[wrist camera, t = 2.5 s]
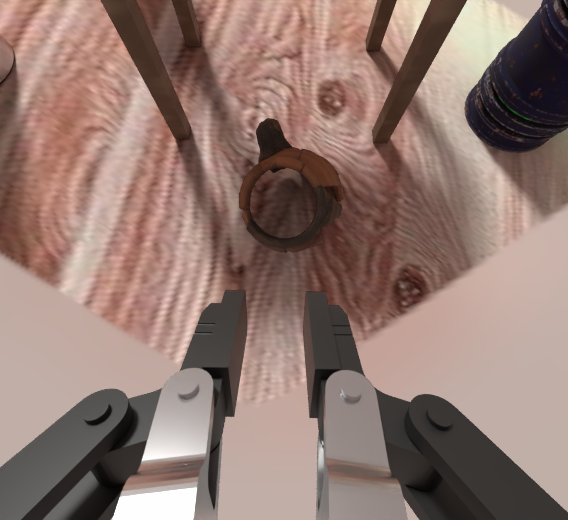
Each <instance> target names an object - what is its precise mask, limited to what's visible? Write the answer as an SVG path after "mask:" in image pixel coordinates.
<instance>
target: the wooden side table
mask: <svg viewBox="0 0 568 520" xmlns="http://www.w3.org/2000/svg"><path fill="white" fill-rule="evenodd" d="M396 1H397V0H377V3H376V7H375V10H374V14H373V17H372V20H371V24H370V27H369V31H368V34H367V38H366V51H379V50H380V47H381V44H382V41H383V38H384V35H385V32H386V30H387V27H388V24H389V21H390V18H391V15H392V12H393V10H394V7H395V4H396ZM466 1H467V0H431V2H430V4H429V6H428V8H427V11H426V13H425V15H424V17H423V19H422V22H421V24H420V26H419V28H418V30H417V33H416V35H415V37H414V39H413V42H412V44H411V46H410V48H409V50H408V53H407V55H406V57H405V59H404V61H403V64H402V66H401V68H400V70H399V72H398V75H397V77H396V79H395V81H394V84H393V86H392V88H391V90H390V92H389V95H388V97H387V99H386V101H385V103H384V106H383V108H382V110H381V112H380V115H379V117H378V119H377V121H376V123H375V126H374V128H373V130H372V135H373V143H387V142H388V141H389V139H390V137H391V135H392V133H393V132H394V130H395V128H396V126H397V124H398V123H399V121H400V119H401V117H402V116H403V114H404V112H405V110H406V108H407V107H408V105H409V103H410V101H411V99H412V98H413V96H414V94H415V92H416V91H417V89H418V87H419V85H420V83H421V82H422V80H423V78H424V76H425V74H426V73H427V71H428V69H429V67H430V66H431V64H432V62H433V60H434V58H435V57H436V55H437V53H438V51H439V49H440V48H441V46H442V44H443V42H444V40H445V39H446V37H447V35H448V33H449V32H450V30H451V28H452V26H453V24H454V23H455V21H456V19H457V17H458V15H459V14H460V12H461V10H462V8H463V7H464V5H465V3H466ZM101 2H102V4H103V6H104V8H105V9H106V11H107V13H108V15H109V17H110V19H111V21H112V22H113V24H114V26H115V28H116V30H117V32H118V33H119V35H120V37H121V39H122V41H123V43H124V45H125V46H126V48H127V50H128V52H129V54H130V56H131V58H132V59H133V61H134V63H135V65H136V67H137V69H138V71H139V72H140V74H141V76H142V78H143V80H144V82H145V84H146V85H147V87H148V89H149V91H150V93H151V95H152V97H153V98H154V100H155V102H156V104H157V106H158V108H159V110H160V111H161V113H162V115H163V117H164V119H165V121H166V123H167V124H168V126H169V128H170V130H171V132H172V134H173V136H174V137H175V139H189V138H190V129H191V126H190V124H189V122H188V119H187V117H186V115H185V113H184V110H183V108H182V106H181V103H180V101H179V99H178V96H177V94H176V92H175V89H174V87H173V85H172V82H171V80H170V78H169V76H168V73H167V71H166V69H165V66H164V64H163V62H162V59H161V57H160V55H159V52H158V50H157V48H156V46H155V43H154V41H153V39H152V36H151V34H150V32H149V29H148V27H147V25H146V22H145V20H144V18H143V15H142V13H141V11H140V9H139V6H138V4H137V2H136V0H101ZM172 2H173V5H174V8H175V11H176V14H177V17H178V20H179V23H180V27H181V30H182V33H183V36H184V39H185V42H186V45H187V46H191V47H200V41H201V35H200V31H199V28H198V24H197V20H196V16H195V13H194V9H193V5H192V1H191V0H172Z"/></svg>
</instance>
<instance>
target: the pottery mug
mask: <svg viewBox="0 0 568 520" xmlns="http://www.w3.org/2000/svg"><path fill="white" fill-rule="evenodd" d="M256 135H257V141H258V144H259V147H260V157H259V161H258V162H259V163H258V164H257V165H256V166H255V167H254V168H253V169H252V170H251V171H250V172H249V173H248V175H247V176H246V178H245V179H244V181H243V183H242V186H241V189H240V193H239V208H240V209H243V218H244V221H245V224H246V226H247V230H248V231H249V233H251V235H252V236H253V237H254V238H255V239H256V240H258V241H259V242H260V243H262V244H263V245H265V246H267V247H268V248H271V249H273V250H276V251H280V252H287V251H290V252H297V251H301V250H304V249H306V248H310V247H313V246H317V245H320V244H323V243H324V240H323V236H322V233H321V228H322V227H326V226H329V225H331V224H332V223H333V222H334V220H335V219H337V218H339V217H340V215H341V210H342V205H341V204H339V203H337V202H336V200H335V199H334V198H333V197H332V196H331V195H330V194H329V193H328V192H327V191H326V189H325V188H326V187H331V186H333V188H334V191H335V193H336V197H337V200H338V201H341V200H342V199H343V189H342V187H341V183H340V179H339V176H338V173H337V171H336V170H335V168H334V167H333V166H332V165H331V164H330V163H329V162H328V161H327V160H326V159H325V158H323V157H321V156H319V155H317V154H316V153H314V152H312V151H309V150H306V149H301V150H300V149H298V148H294V147H292V146H291V145H290V144H289V143H288V142H287V140H286V139H285V137H284V135H283V132H282V129H281V127H280V124H279V122H278V121H277V120H275V119H270V118H267V119H266V120H265V121H263V122H261V123H260V124H259V126H258V128H257V130H256ZM285 168H290V169H293V170H296V171H298V172H299V173H301V174H302V175H303V176H304V177H305V178H306V179H307V180H308V181H309V182H310V184H311V186H312V188H313V189H314V191H315V195H316V202H317V206H316V212H315V216H314V219H313V221H312V223H311V224H310V226H309V227H308V228H307V229H306V230H305V231H304V232H303V233H301V234H300V235H298V236H295V237H292V238H277V237H274V236H271V235H269V234H267V233H266V232H264V231H263V230H262V229H261V228H260V227H259V226H258V225H257V224H256V222H255V221H254V220H253V218H252V215H251V212H250V197H251V192H252V189H253V187H254V185H255V183H256V181H257V180H258V179H259V177H260V176H262V175H263V174H264V173H266V172H267V171H268V170H271V172H273V173H275V172H277V171H279V170H282V169H285Z"/></svg>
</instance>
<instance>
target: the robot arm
mask: <svg viewBox="0 0 568 520" xmlns="http://www.w3.org/2000/svg"><path fill="white" fill-rule="evenodd" d="M13 60H14V55H13V50H12V48H11V46H10V44H9V43H8V42H7V41H6V40H5V39H4V38H3V36H2V35H1V34H0V82H1V81H2V80H3V79H4V78H5V77H6V76H7V74H8V73H9V72H10V69H11V67H12V65H13ZM352 335H353V334H352V331H351V328H350V323H349V320H348V316H347V314H346V313H345V312H344V311H343V309H342V308H341V307H340V306H339V305H328V303H327V298H326V293H325V292H309V291H306V294H305V306H304V320H303V338H304V351H305V364H306V377H307V390H308V402H309V416H310V418H318V428H319V435H318V446H317V447H318V449H317V502H316V520H408V518H407V513H406V508H405V503H404V499H405V500H406V501H407V503H408V504H409V506H410V507H411V508H412V510H413V511H414V513H415V514H416V515H417V517H418V518H419V520H568V512H567V511H566V510H564V509H563V508H562V507H561V506H560V505H559V504H558V503H557V502H556V501H555V500H554V499H553V498H552V497H551V496H550V495H549V494H547V493H546V492H545V491H544V490H543V489H542V488H541V487H540V486H539V485H538V484H537V483H536V482H535V481H534V480H533V479H531V478H530V477H529V476H528V475H527V474H526V473H525V472H524V471H523V470H522V469H521V468H520V467H519V466H518V465H517V464H515V463H514V462H513V461H512V460H511V459H510V458H509V457H508V456H507V455H506V454H505V453H504V452H503V451H502V450H500V449H499V448H498V447H497V446H496V445H495V444H494V443H493V442H492V441H491V440H490V439H489V438H488V437H487V436H486V435H484V434H483V433H482V432H481V431H480V430H479V429H478V428H477V427H476V426H475V425H474V424H473V423H472V422H471V421H469V419H467V418H466V417H465V416H464V415H463V414H462V413H461V412H460V411H459V410H458V409H457V408H455V407H454V406H453V405H452V404H451V403H449V402H448V401H446V400H445V399H443V398H440V397H438V396H435V395H429V394H422V395H418V396H416V397H415V398H413V400H412V401H411V402H408V401H405V400H402V399H398V398H395V397H392V396H389V395H386V394H384V393H382V392H380V391H379V390H377V389H376V388H375V387H374V386H373V385H372V383H371V382H370V381H369V380H368V379H367V378H366V377H365V375H364V373H363V370H362V367H361V363H360V359H359V356H358V352H357V348H356V345H355V341H354V338H353V336H352ZM246 337H247V308H246V293H245V290H225V292H224V296H223V299H222V302H221V303H211V304H210V305H209V306H208V307H207V308H206V309H205V310H204V311H203V312H202V313H201V316H200V319H199V321H198V325H197V327H196V329H195V334H194V335H193V337H192V340H191V343H190V346H189V348H188V351H187V354H186V356H185V359H184V362H183V364H182V367H181V369H180V371H179V372H177V373H175V374H174V375H173V376H171V377H170V378H169V379H168V380H167V381H166V383H165V384H164V386H163V388H161V389H159V390H157V391H154V392H151V393H147V394H144V395H140V396H137V397H133V398H129V399H128V398H127V396H126V395H125V393H123V392H122V391H120V390H118V389H105V390H101V391H98V392H95V393H93V394H91V395H89V396H88V397H86V398H84V399H83V400H82V401H81V402H79V403H78V404H77V405H76V406H74V407H73V408H72V409H71V410H70V411H68V412H67V413H66V414H65V415H64V416H62V417H61V418H60V419H59V420H57V421H56V422H55V423H54V424H53V425H51V426H50V427H49V428H48V429H46V430H45V431H44V432H43V433H42V434H40V435H39V436H38V437H37V438H35V440H33V441H32V442H31V443H29V444H28V445H27V446H26V447H25V448H23V449H22V450H21V451H20V452H19V453H17V454H16V455H15V456H14V457H12V458H11V459H10V460H9V461H8V462H6V463H5V464H4V465H3V466H1V467H0V520H110V519H111V518H112V517H113V516H114V518H113V520H218V498H219V483H220V467H221V451H222V433H223V427H224V422H225V417H227V416H228V417H234V414H235V407H236V401H237V395H238V388H239V382H240V375H241V369H242V362H243V356H244V350H245V343H246ZM403 497H404V498H403ZM114 514H115V515H114Z"/></svg>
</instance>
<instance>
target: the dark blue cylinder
mask: <svg viewBox="0 0 568 520" xmlns="http://www.w3.org/2000/svg"><path fill="white" fill-rule="evenodd" d="M465 115H466V119H467V121H468V123H469V126H470V127H471V129H472V130H473V131H474V133H475V134H476V135H477V136H478V137H479V138H480V139H482V140H483V141H484V142H486V143H487V144H489V145H491V146H493V147H495V148H497V149H500V150H503V151H508V152H516V153H518V152H527V151H531V150H534V149H536V148H538V147H540V146H541V145H543V144H544V143H545V142H547V141H548V140H549V139H550V138H552V137H553V136H555V135H557V134H558V133H560V132H562V131H564V130H565V129H567V128H568V0H543V1H542V4H541V7H540V8H539V10H538V11H537V12H536V13H535V15H534V16H533V17H532V18H531V20H530V21H529V22H528V23H527V25H526V26H525V27H524V28H523V30H522V31H521V32H520V33H519V35H518V36H517V37H515V38H514V39H512V40H511V41H510V42H508V44H507V45H506V46H505V47H504V48H502V50H501V51H500V52H499V53H498V55H497V57H496V58H495V59H494V61H493V62H492V63H491V64H490V65H489V67H488V68H487V69H486V71H485V72H484V74H483V76H482V78H481V79H480V80H479V82H478V84H477V85H475V87H474V88H473V89H472V90H471V92H470V93H469V95H468V96H467V99H466V102H465Z"/></svg>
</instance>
